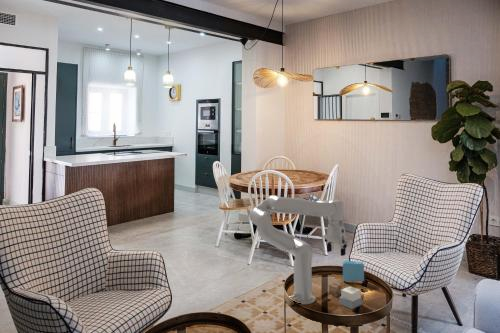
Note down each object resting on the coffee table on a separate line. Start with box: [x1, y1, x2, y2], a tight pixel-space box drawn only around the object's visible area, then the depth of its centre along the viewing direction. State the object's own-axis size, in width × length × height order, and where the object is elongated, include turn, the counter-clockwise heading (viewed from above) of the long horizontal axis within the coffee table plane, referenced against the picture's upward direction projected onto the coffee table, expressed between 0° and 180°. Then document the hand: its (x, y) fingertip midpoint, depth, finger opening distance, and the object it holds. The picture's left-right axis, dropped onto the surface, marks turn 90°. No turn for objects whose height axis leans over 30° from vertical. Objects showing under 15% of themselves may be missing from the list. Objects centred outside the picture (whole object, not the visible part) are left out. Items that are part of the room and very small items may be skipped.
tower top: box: [340, 285, 362, 302], centre depth 192 cm, size 7×7×4 cm
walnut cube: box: [328, 282, 343, 297], centre depth 207 cm, size 5×5×5 cm
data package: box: [342, 260, 365, 282], centre depth 223 cm, size 12×4×12 cm, turn 75°
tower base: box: [338, 296, 363, 310], centre depth 193 cm, size 8×8×4 cm
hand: (336, 253), depth 205 cm, fingers open, 9 cm apart
